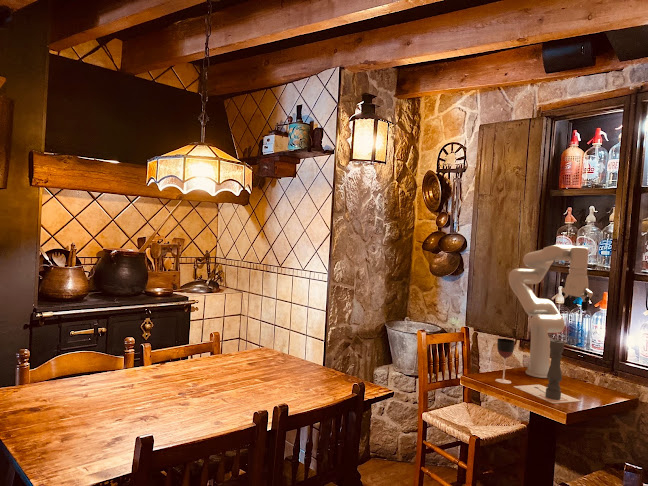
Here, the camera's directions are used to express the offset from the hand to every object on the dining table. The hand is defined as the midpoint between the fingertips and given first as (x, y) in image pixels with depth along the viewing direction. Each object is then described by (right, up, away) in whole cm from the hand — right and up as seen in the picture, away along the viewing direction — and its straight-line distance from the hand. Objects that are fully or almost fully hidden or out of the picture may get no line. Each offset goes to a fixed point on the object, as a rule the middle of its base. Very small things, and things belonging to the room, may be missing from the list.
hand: (575, 308), depth 243 cm
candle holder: (-19, -37, -17) cm, 45 cm away
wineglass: (-32, -37, +6) cm, 49 cm away
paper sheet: (-19, -37, -11) cm, 43 cm away
